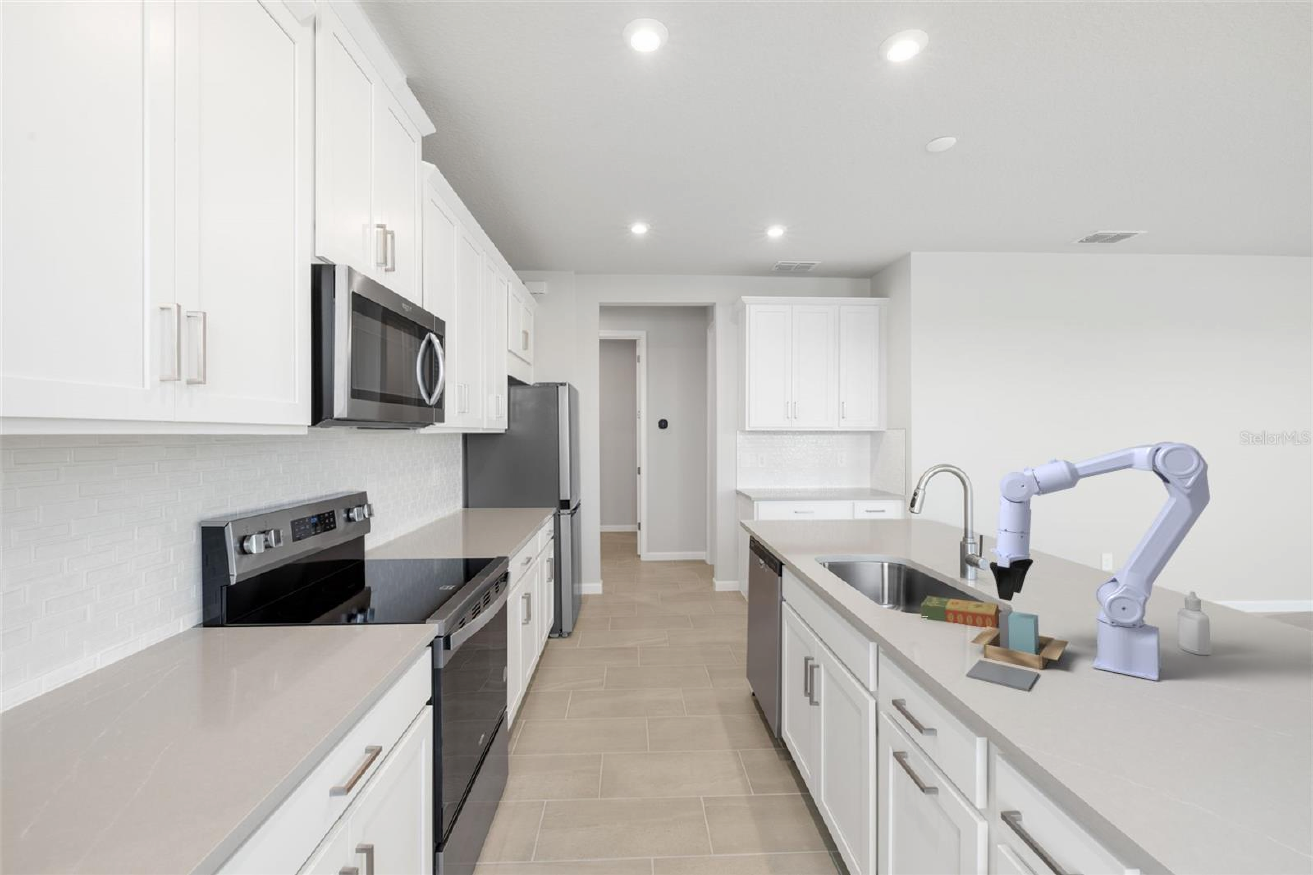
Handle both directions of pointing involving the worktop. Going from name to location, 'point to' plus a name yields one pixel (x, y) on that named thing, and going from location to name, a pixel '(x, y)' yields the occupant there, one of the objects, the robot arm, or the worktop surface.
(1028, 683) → the slate coaster
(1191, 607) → the eye dropper bottle
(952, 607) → the carton
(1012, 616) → the capped box
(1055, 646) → the open carton
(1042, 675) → the worktop surface
